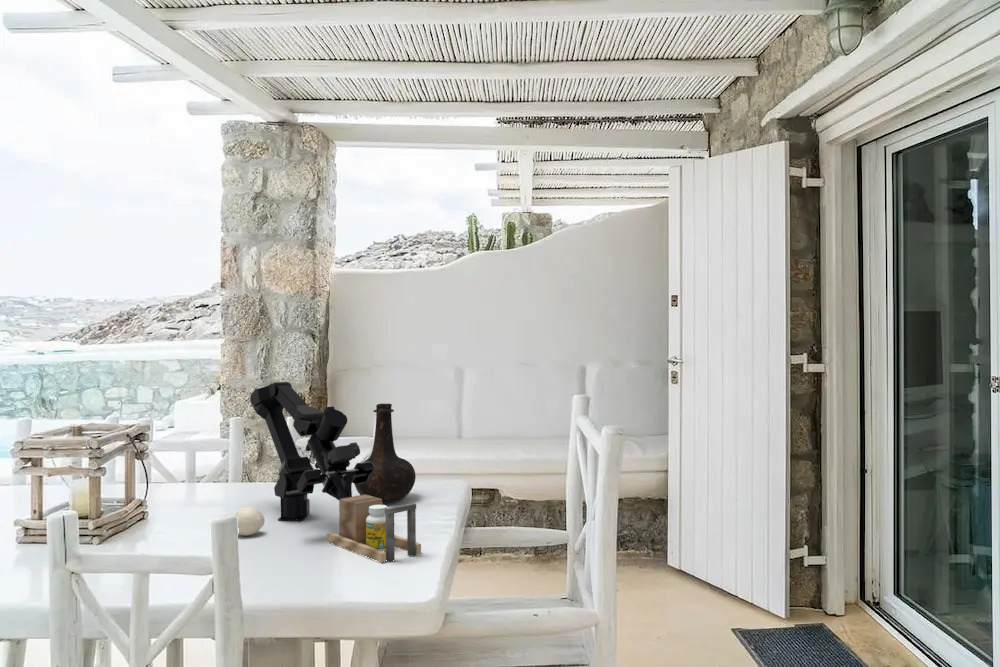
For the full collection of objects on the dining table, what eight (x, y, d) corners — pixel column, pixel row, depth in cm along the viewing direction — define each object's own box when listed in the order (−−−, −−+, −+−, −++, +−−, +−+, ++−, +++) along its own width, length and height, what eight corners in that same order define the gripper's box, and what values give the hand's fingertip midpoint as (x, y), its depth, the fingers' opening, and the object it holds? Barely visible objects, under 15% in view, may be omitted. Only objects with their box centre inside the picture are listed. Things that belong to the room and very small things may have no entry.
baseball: (262, 537, 172) (262, 509, 172) (230, 539, 171) (230, 511, 171) (266, 530, 179) (266, 503, 179) (234, 532, 177) (234, 504, 177)
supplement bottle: (394, 547, 164) (394, 504, 164) (383, 554, 159) (383, 510, 159) (373, 545, 166) (372, 503, 166) (361, 551, 160) (361, 508, 160)
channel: (327, 542, 168) (327, 494, 168) (365, 533, 175) (365, 487, 175) (383, 564, 152) (382, 511, 152) (423, 553, 159) (422, 503, 159)
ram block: (339, 542, 168) (339, 499, 168) (365, 536, 172) (365, 494, 172) (356, 548, 162) (355, 504, 162) (382, 542, 167) (381, 499, 167)
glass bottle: (388, 510, 199) (387, 407, 199) (340, 502, 208) (339, 405, 208) (428, 497, 214) (427, 402, 214) (381, 491, 223) (381, 400, 223)
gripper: (302, 436, 168) (327, 490, 160) (370, 428, 181) (396, 478, 173) (286, 466, 174) (309, 520, 166) (353, 457, 187) (378, 506, 179)
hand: (350, 505), depth 171 cm, fingers closed
